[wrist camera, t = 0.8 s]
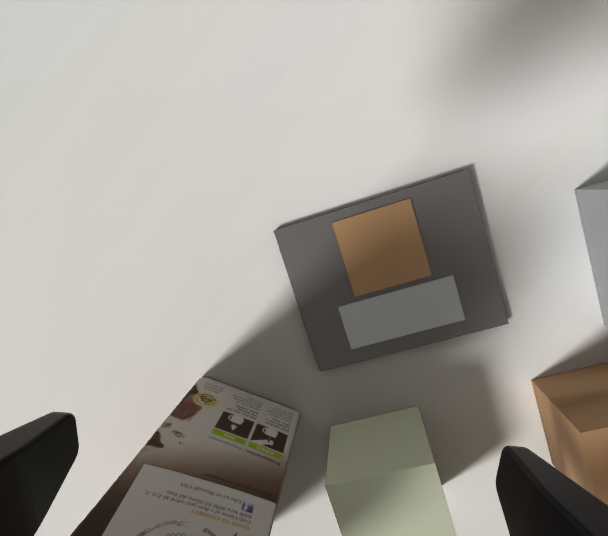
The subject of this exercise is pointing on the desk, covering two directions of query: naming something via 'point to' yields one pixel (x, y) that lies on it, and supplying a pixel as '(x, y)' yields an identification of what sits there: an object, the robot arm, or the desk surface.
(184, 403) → the coffee box
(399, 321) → the card
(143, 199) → the desk surface
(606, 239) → the slate base block
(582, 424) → the walnut block
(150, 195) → the desk surface
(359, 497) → the sage block
